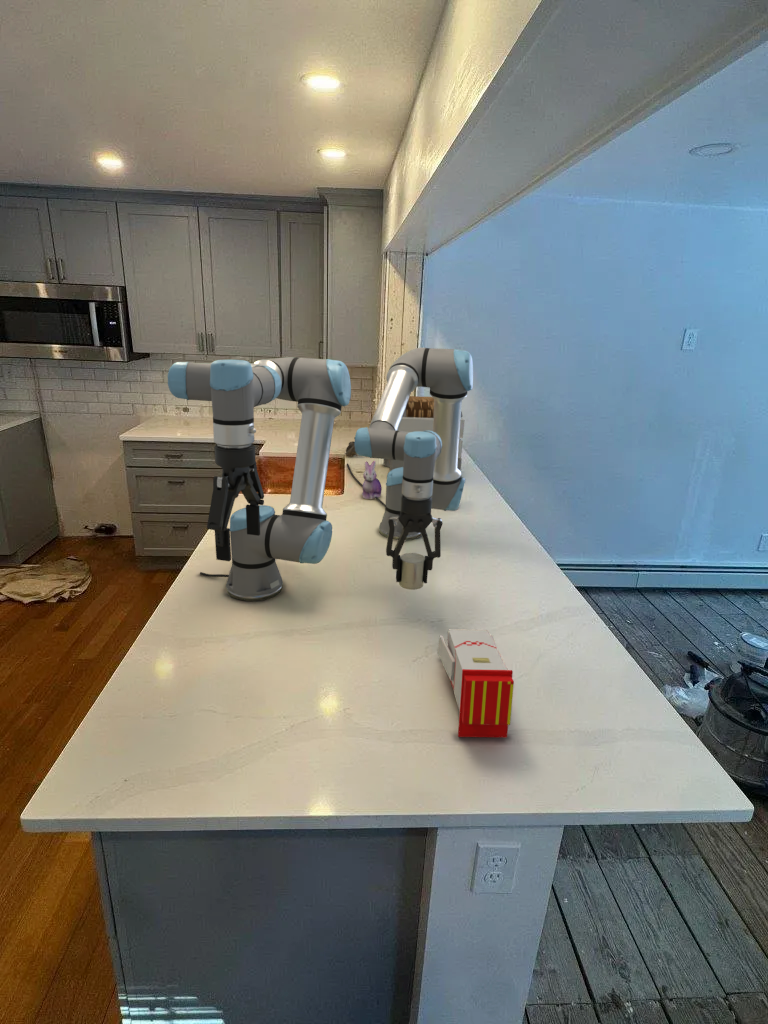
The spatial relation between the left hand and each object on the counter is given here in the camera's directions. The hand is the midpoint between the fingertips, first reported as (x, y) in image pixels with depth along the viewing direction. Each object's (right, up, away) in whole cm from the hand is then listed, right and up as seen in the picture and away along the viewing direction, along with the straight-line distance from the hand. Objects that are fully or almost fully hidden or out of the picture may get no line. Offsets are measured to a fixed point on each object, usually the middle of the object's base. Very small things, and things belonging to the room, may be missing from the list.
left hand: (239, 546), depth 115 cm
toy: (+47, -31, +3) cm, 56 cm away
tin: (+36, -12, +32) cm, 50 cm away
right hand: (+36, -11, +31) cm, 49 cm away
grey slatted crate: (+47, +26, +160) cm, 168 cm away
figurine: (+24, +14, +123) cm, 126 cm away
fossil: (+15, +39, +192) cm, 196 cm away
